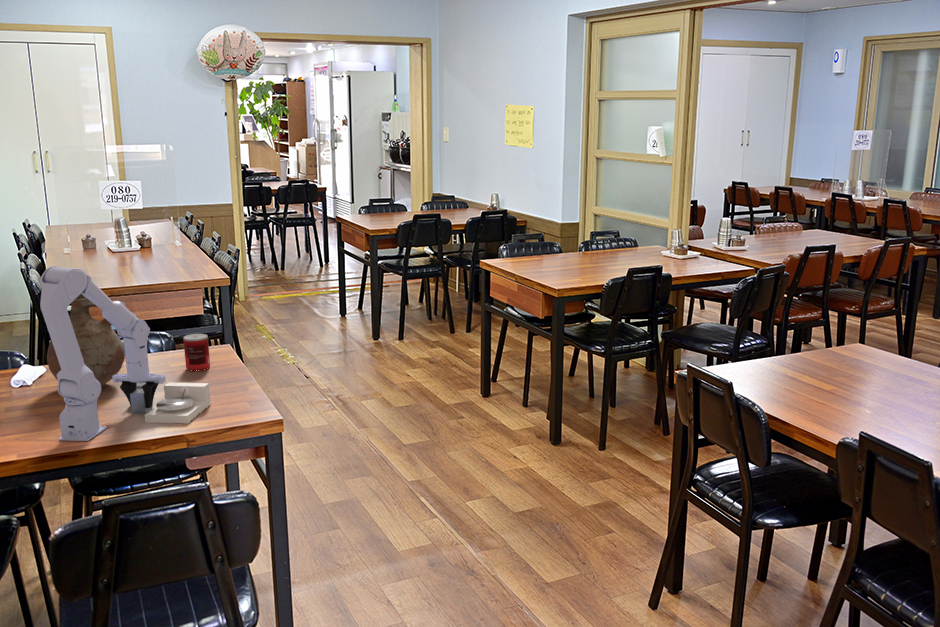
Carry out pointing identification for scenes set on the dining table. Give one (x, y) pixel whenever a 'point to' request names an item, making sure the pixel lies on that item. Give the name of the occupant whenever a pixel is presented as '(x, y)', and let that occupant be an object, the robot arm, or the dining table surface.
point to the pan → (175, 403)
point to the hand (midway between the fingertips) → (141, 406)
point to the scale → (185, 415)
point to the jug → (92, 343)
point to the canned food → (196, 352)
